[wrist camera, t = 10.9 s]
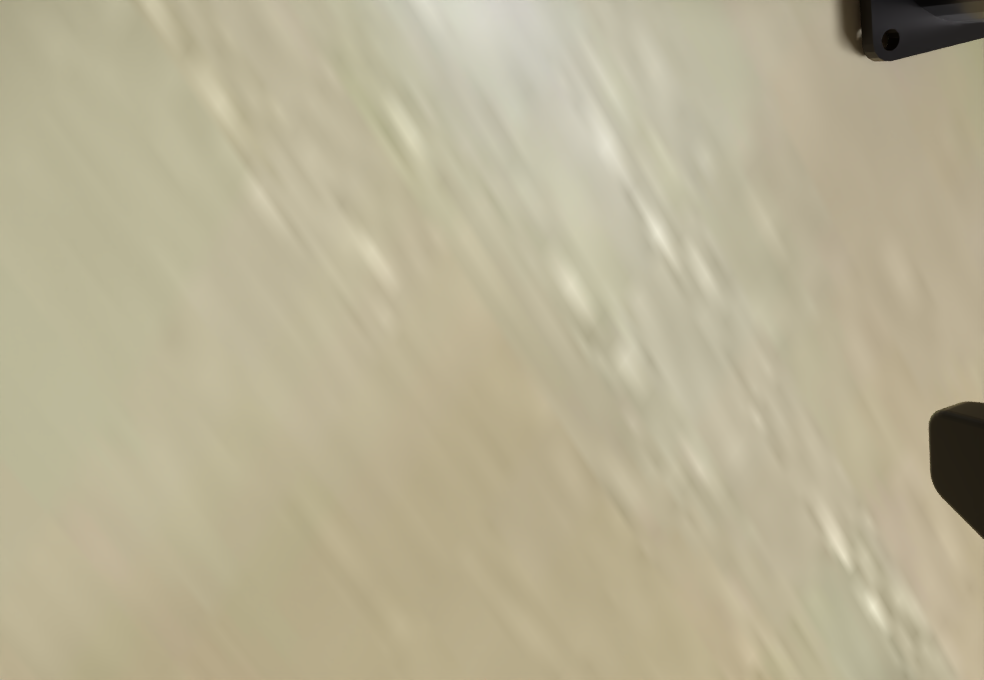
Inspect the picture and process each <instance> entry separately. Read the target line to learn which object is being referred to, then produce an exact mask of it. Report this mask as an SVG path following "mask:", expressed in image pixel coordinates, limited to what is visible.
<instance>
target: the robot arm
mask: <svg viewBox="0 0 984 680" xmlns="http://www.w3.org/2000/svg"><path fill="white" fill-rule="evenodd" d="M860 12H861V29H862V45H863V50H864V53H865V54H866V56H867V57H868V58H869V59H871V60H873V61H893V60H897V59H901V58H905V57H909V56H913V55H917V54H921V53H925V52H929V51H933V50H937V49H941V48H945V47H949V46H953V45H957V44H961V43H965V42H969V41H973V40H976V39H980V38H984V0H860ZM885 32H886V33H887V34H888V38H889V39H888V44H887V46H886V47H885V49H884V48H883V45H882V37H883V35H884V33H885ZM929 449H930V473H931V479H932V482H933V484H934V487H935V489H936V490H937V492H938V493H939V495H940V496H941V497H942V498H943V499H944V500H945V501H946V502H947V503H948V504H949V505H950V506H951V507H952V508H953V509H954V510H955V511H956V512H957V513H958V514H959V515H960V516H961V517H962V518H963V519H964V520H965V521H966V522H967V523H968V524H969V525H970V526H971V527H972V528H973V529H974V530H975V531H976V532H977V533H978V534H979V535H980V536H981V537H982V538H983V539H984V403H980V402H961V403H958V404H955V405H952V406H949V407H947V408H944V409H941V410H938V411H936V412H935V413H934V414H933V415H932V416H931V418H930V421H929Z"/></svg>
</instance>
